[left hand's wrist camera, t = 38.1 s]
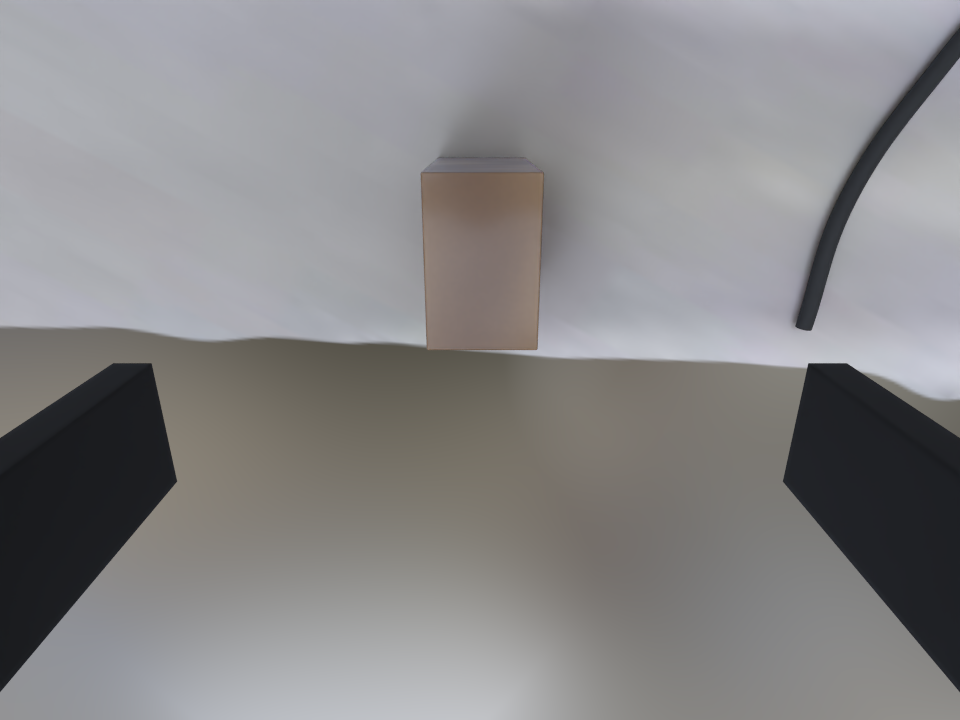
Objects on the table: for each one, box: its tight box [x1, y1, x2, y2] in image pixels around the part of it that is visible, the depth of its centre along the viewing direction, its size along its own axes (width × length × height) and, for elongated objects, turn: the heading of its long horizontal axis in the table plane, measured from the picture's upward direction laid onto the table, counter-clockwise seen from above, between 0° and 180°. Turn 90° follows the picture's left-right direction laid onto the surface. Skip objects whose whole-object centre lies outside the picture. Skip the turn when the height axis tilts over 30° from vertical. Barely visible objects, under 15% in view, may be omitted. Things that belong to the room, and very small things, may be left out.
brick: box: [421, 158, 544, 350], centre depth 31 cm, size 5×8×11 cm, turn 0°
